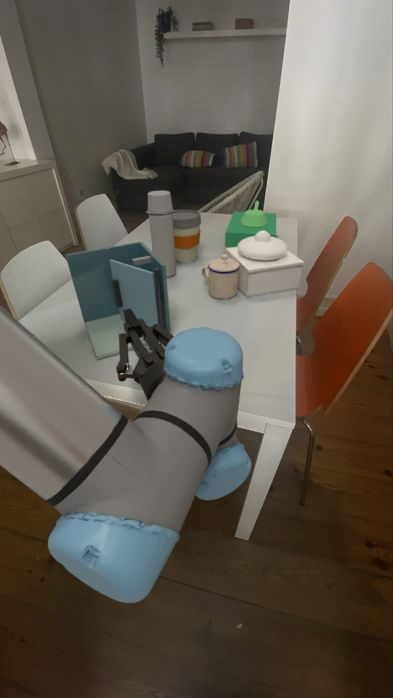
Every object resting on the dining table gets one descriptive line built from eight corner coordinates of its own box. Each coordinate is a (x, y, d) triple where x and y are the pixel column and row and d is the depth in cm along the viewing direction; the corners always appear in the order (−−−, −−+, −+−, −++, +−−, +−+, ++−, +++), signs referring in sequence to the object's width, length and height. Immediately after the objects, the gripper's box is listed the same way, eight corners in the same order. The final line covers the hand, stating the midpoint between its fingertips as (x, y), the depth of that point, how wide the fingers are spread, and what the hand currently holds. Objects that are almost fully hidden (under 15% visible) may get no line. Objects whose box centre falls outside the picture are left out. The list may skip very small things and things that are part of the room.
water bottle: (181, 275, 106) (176, 193, 90) (160, 281, 103) (152, 197, 87) (168, 265, 112) (162, 188, 97) (147, 271, 109) (138, 191, 93)
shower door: (117, 321, 82) (105, 261, 72) (122, 317, 83) (111, 259, 73) (155, 337, 76) (147, 275, 66) (160, 333, 77) (153, 272, 67)
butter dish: (271, 266, 110) (278, 218, 100) (299, 289, 96) (309, 237, 87) (224, 273, 106) (226, 224, 96) (245, 298, 93) (250, 244, 83)
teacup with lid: (243, 290, 97) (246, 253, 89) (228, 303, 91) (230, 264, 84) (210, 281, 102) (210, 245, 95) (194, 292, 96) (193, 255, 89)
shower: (97, 359, 72) (76, 283, 60) (84, 324, 83) (65, 254, 71) (171, 338, 78) (165, 264, 66) (150, 308, 89) (141, 241, 77)
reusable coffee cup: (201, 263, 113) (201, 219, 104) (166, 263, 114) (163, 220, 104) (201, 250, 123) (201, 209, 114) (169, 250, 124) (166, 209, 114)
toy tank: (277, 199, 135) (277, 224, 108) (273, 228, 143) (272, 258, 116) (236, 197, 138) (226, 221, 111) (234, 226, 146) (224, 255, 119)
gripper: (133, 425, 46) (98, 339, 63) (212, 396, 50) (160, 322, 67) (125, 389, 41) (90, 306, 58) (214, 360, 46) (157, 290, 62)
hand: (128, 315), depth 63 cm, fingers closed
